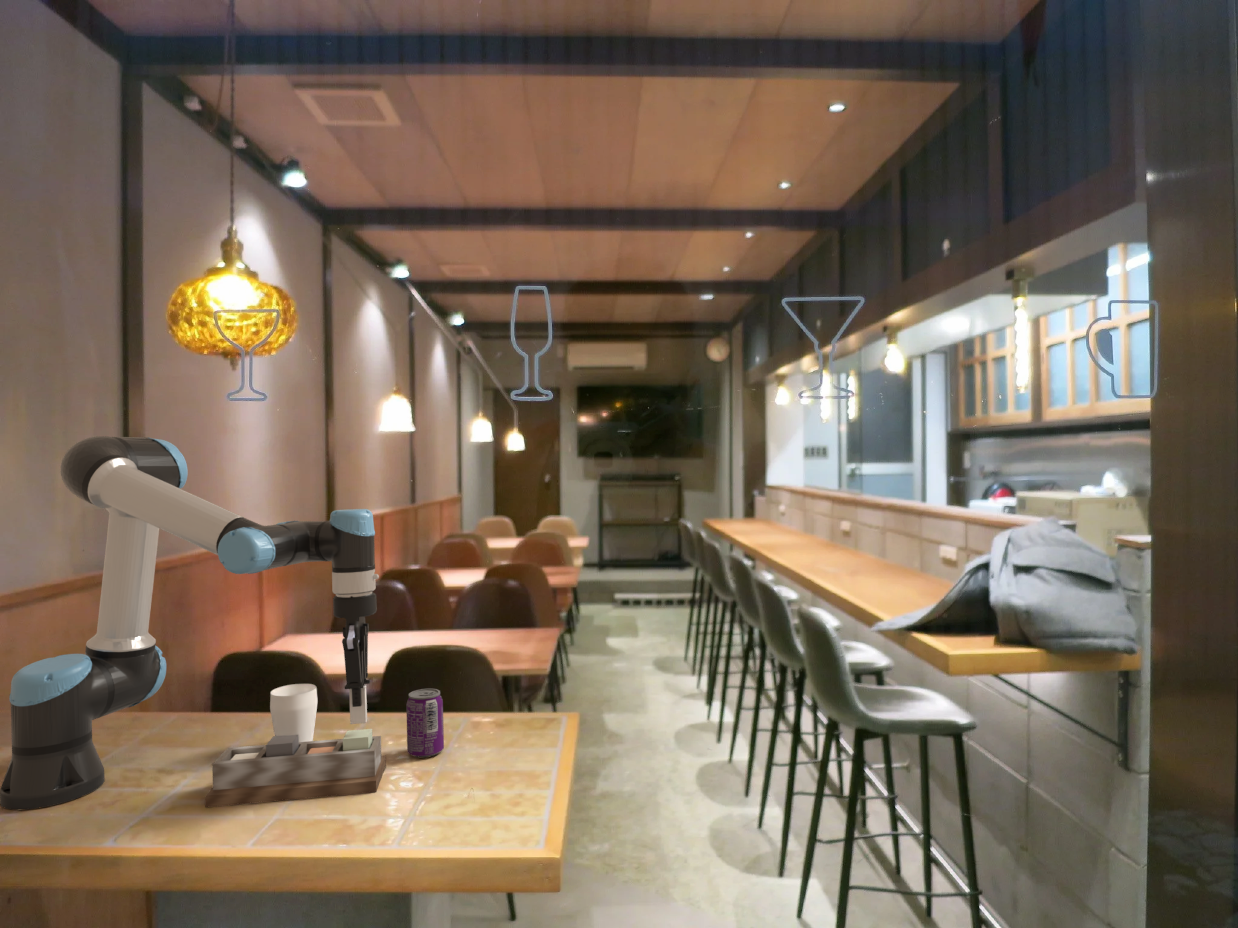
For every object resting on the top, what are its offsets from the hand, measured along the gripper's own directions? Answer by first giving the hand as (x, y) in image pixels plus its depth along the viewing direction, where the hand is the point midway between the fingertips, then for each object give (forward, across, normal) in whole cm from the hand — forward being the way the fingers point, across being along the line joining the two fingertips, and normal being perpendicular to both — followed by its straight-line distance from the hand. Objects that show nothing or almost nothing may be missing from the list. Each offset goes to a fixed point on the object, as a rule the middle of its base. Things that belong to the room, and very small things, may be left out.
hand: (358, 721), depth 138 cm
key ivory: (+8, 0, +20) cm, 21 cm away
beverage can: (+11, +11, -11) cm, 19 cm away
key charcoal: (+5, 0, +13) cm, 14 cm away
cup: (+11, +20, +16) cm, 28 cm away
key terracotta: (+8, 0, +7) cm, 10 cm away
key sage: (+5, 0, 0) cm, 5 cm away
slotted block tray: (+11, 0, +10) cm, 15 cm away
